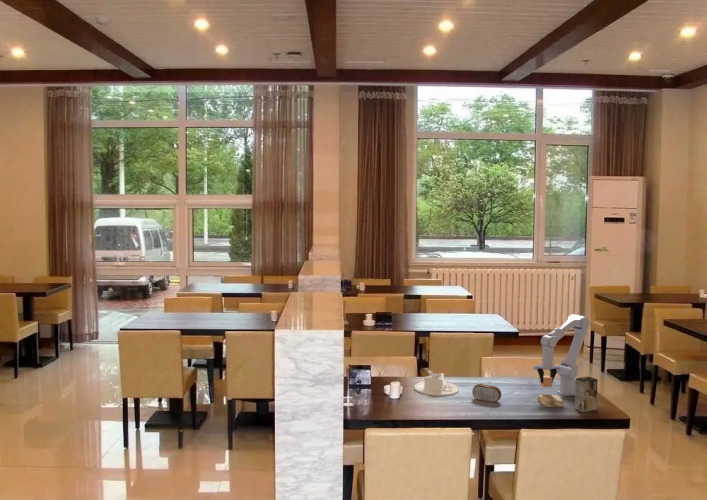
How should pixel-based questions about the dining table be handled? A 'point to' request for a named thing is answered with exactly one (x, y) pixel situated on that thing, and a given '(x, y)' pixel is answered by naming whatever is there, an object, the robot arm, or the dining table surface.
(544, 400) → the riser
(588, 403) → the coffee box
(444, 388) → the dish
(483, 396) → the tin
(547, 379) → the block
